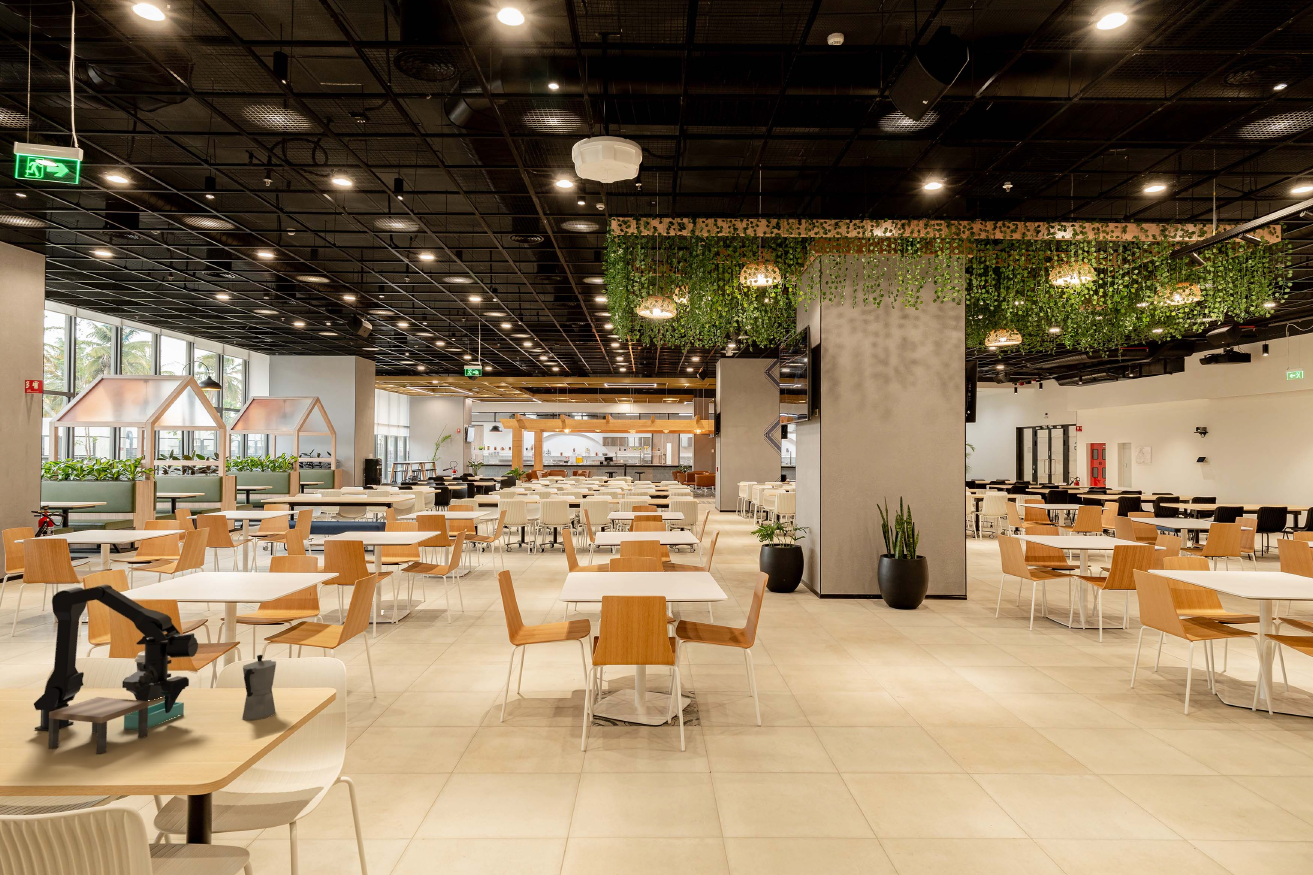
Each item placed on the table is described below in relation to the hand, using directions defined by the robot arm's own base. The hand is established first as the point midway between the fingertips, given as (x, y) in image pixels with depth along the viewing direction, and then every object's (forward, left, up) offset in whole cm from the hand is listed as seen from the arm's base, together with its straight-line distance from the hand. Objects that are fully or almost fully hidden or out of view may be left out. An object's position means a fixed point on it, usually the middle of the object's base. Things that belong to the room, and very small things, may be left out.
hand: (155, 711), depth 210 cm
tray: (0, 0, -3) cm, 3 cm away
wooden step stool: (0, -16, -3) cm, 17 cm away
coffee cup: (-21, +17, -3) cm, 27 cm away
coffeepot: (+27, +10, -3) cm, 29 cm away
